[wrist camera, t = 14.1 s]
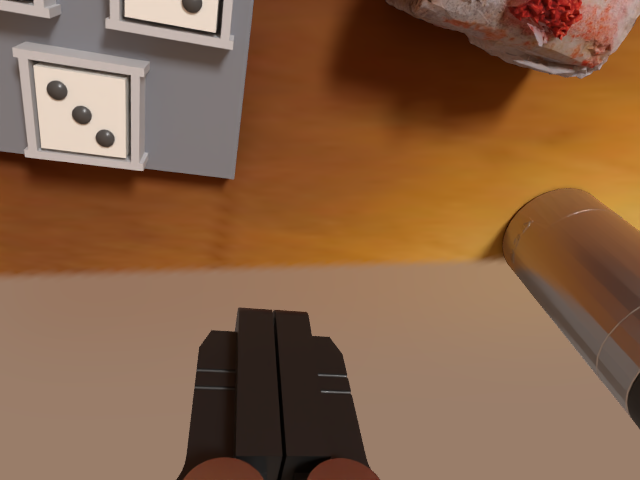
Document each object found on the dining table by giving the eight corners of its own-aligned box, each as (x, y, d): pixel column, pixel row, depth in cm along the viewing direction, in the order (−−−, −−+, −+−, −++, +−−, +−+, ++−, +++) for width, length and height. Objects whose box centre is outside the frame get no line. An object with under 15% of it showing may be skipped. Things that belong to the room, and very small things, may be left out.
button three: (131, 72, 31) (124, 80, 29) (132, 147, 33) (125, 159, 32) (45, 58, 30) (32, 66, 28) (52, 136, 32) (40, 148, 31)
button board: (263, -99, 29) (265, -103, 26) (234, 168, 37) (233, 191, 34) (-108, -186, 25) (-163, -206, 22) (-48, 133, 33) (-81, 155, 30)
